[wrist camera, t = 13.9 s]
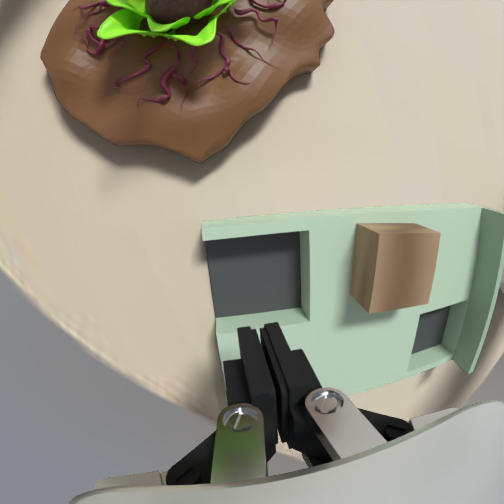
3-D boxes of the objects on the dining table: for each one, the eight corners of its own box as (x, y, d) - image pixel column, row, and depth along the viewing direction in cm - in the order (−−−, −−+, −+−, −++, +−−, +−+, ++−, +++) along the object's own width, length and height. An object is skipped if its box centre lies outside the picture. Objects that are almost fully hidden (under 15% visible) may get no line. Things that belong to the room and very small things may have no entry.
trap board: (468, 203, 21) (510, 214, 16) (444, 345, 26) (472, 371, 21) (203, 221, 19) (198, 241, 14) (229, 397, 24) (233, 443, 19)
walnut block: (414, 223, 19) (440, 232, 16) (405, 287, 20) (428, 303, 17) (356, 223, 18) (379, 233, 15) (349, 294, 19) (368, 313, 17)
